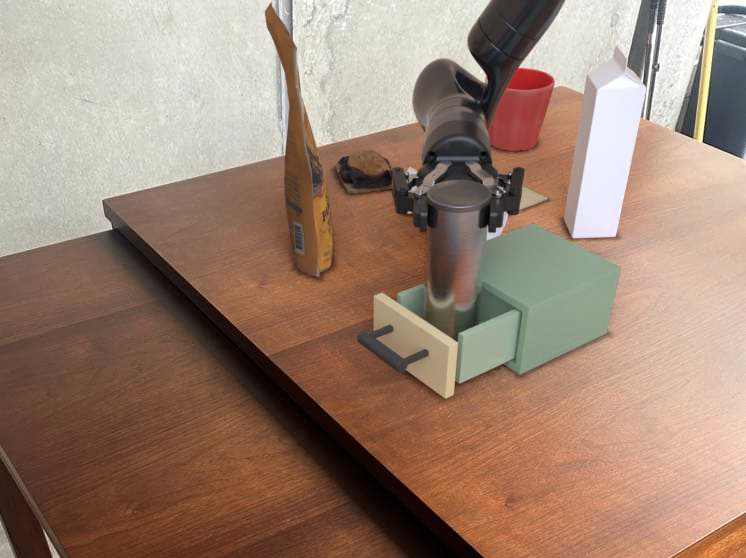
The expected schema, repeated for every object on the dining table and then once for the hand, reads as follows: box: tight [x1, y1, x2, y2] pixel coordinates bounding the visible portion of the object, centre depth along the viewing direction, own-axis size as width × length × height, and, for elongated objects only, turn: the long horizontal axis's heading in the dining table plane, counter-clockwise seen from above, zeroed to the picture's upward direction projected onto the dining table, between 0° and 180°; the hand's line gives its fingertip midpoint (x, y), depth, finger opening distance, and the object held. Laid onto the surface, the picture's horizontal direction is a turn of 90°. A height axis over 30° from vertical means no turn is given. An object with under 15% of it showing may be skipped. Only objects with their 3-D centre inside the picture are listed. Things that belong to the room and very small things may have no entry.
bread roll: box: [335, 149, 392, 195], centre depth 132 cm, size 11×8×4 cm
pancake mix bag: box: [264, 1, 334, 278], centre depth 107 cm, size 7×19×28 cm, turn 4°
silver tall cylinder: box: [423, 180, 491, 342], centre depth 89 cm, size 6×6×15 cm
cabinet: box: [482, 222, 622, 376], centre depth 99 cm, size 14×14×8 cm
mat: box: [519, 186, 549, 211], centre depth 127 cm, size 10×10×1 cm
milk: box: [563, 44, 648, 239], centre depth 111 cm, size 6×6×22 cm
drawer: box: [356, 282, 522, 400], centre depth 94 cm, size 17×13×6 cm
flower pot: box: [484, 67, 556, 152], centre depth 138 cm, size 11×11×10 cm
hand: (458, 223), depth 83 cm, fingers closed on silver tall cylinder, 6 cm apart
